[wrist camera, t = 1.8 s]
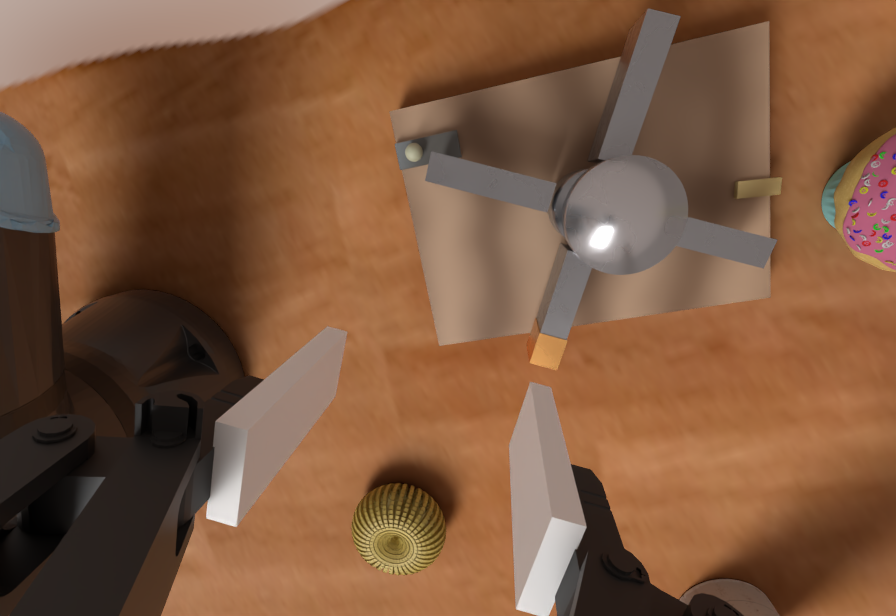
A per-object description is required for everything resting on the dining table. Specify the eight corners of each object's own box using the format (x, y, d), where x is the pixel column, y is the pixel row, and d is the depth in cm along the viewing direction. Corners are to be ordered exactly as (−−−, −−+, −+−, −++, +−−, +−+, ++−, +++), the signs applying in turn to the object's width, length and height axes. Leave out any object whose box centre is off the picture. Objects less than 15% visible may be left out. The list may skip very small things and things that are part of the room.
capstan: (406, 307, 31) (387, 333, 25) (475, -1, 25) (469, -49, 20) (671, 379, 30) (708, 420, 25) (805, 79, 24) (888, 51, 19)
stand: (442, 336, 33) (436, 354, 30) (396, 116, 29) (383, 107, 26) (760, 289, 30) (794, 303, 26) (757, 30, 26) (797, 7, 22)
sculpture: (436, 595, 36) (342, 576, 36) (442, 555, 40) (357, 538, 40) (448, 517, 33) (347, 497, 34) (454, 482, 37) (363, 465, 38)
